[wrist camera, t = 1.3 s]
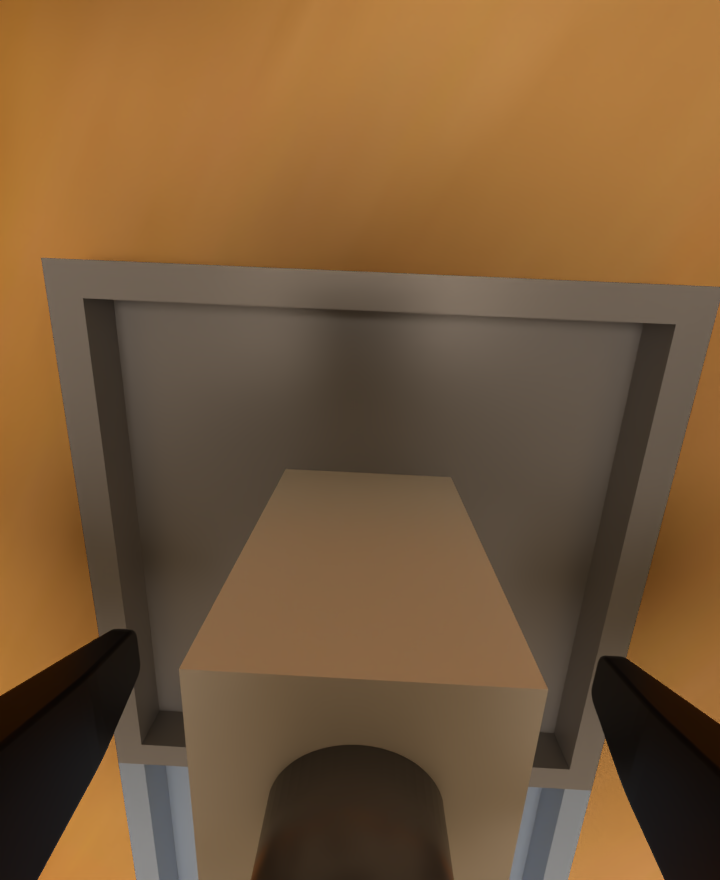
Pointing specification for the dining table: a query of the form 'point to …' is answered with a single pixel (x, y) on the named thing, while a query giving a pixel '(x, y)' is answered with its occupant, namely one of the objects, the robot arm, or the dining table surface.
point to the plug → (360, 692)
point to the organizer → (371, 469)
